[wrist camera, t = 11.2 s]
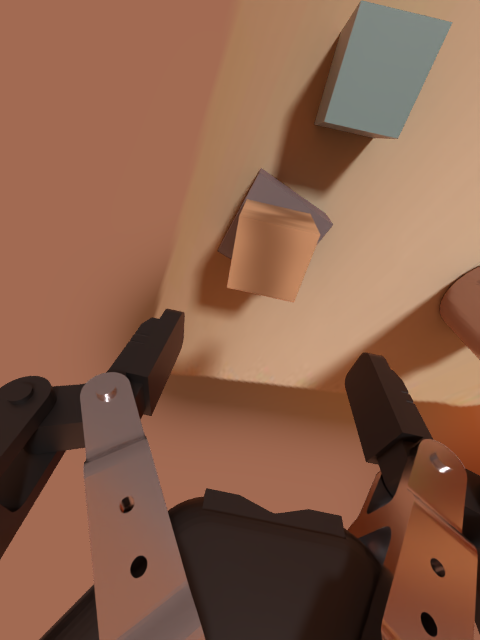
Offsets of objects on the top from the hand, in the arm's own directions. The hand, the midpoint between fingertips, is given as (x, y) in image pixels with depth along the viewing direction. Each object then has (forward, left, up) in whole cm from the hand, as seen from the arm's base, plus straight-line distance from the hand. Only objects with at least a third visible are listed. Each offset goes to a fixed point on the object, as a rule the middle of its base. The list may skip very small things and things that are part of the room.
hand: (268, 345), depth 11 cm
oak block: (0, 0, -14) cm, 14 cm away
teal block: (+6, -10, -18) cm, 21 cm away
